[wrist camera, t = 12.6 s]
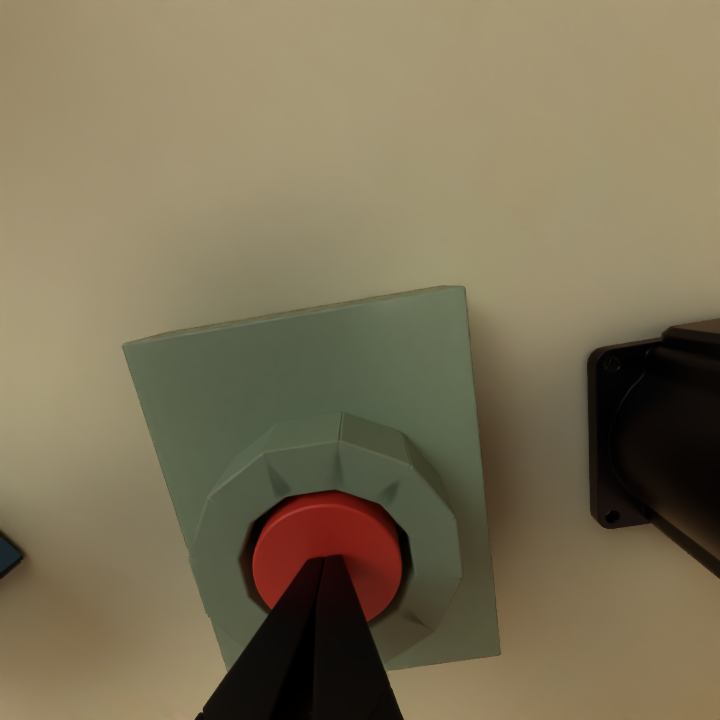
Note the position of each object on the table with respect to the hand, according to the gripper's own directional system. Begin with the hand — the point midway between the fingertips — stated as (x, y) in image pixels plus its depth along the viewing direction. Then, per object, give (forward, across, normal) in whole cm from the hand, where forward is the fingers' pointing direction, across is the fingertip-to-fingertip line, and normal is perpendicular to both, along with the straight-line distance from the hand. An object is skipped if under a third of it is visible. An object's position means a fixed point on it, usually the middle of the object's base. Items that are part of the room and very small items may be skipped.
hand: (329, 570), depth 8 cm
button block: (+4, 0, 0) cm, 4 cm away
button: (+2, 0, 0) cm, 2 cm away
